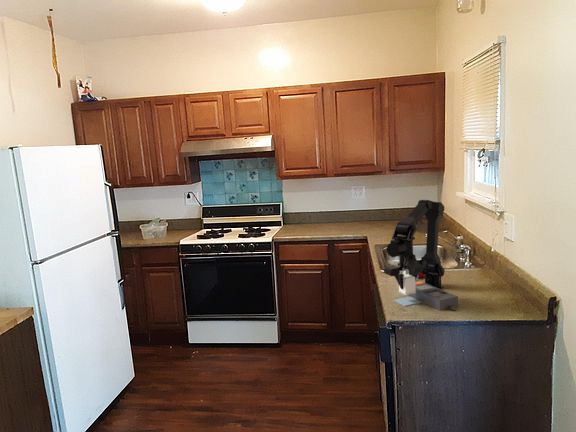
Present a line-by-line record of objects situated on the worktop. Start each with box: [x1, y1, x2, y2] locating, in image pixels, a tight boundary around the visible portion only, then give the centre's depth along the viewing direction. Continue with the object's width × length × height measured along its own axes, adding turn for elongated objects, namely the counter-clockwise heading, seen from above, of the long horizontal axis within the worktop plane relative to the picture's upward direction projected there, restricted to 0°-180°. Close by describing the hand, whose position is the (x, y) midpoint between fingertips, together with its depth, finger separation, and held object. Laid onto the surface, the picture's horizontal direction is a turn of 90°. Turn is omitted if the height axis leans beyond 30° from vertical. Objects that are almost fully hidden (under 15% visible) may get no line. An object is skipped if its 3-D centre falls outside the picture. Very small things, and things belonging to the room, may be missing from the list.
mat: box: [393, 296, 422, 307], centre depth 187 cm, size 8×8×1 cm
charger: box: [398, 274, 416, 296], centre depth 186 cm, size 5×5×7 cm
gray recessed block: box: [407, 280, 459, 312], centre depth 185 cm, size 9×25×5 cm, turn 20°
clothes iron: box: [416, 216, 428, 234], centre depth 327 cm, size 8×16×13 cm, turn 65°
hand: (407, 287), depth 186 cm, fingers closed on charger, 5 cm apart
